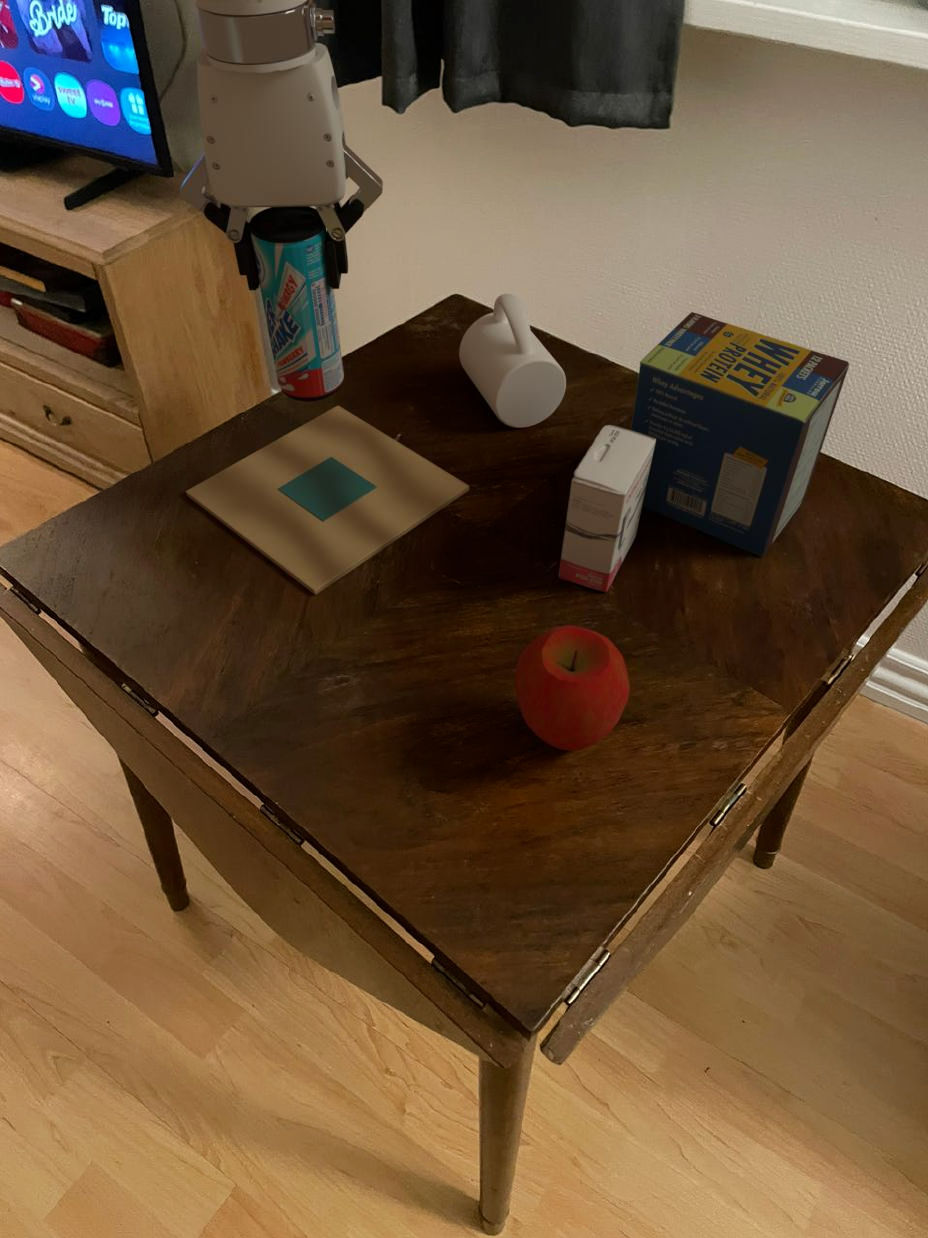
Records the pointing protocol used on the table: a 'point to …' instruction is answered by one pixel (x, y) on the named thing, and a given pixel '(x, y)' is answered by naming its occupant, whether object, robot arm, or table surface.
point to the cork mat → (327, 496)
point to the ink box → (605, 506)
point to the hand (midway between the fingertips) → (295, 279)
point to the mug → (512, 365)
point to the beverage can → (298, 301)
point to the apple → (571, 686)
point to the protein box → (733, 428)
